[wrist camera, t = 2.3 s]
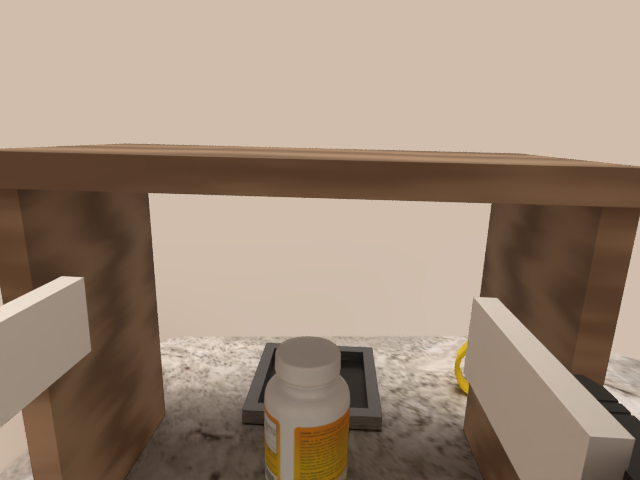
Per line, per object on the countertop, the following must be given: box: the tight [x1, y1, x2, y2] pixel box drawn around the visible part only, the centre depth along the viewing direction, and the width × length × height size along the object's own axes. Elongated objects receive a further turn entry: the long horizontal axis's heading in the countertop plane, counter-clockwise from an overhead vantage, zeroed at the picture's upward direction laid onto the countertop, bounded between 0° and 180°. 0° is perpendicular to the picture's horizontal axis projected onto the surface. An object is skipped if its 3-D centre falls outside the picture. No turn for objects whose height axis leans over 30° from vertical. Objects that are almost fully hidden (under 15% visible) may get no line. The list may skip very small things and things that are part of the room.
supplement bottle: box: [264, 337, 350, 480], centre depth 27 cm, size 5×5×10 cm
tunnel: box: [0, 144, 640, 480], centre depth 25 cm, size 13×27×22 cm, turn 87°
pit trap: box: [242, 343, 382, 430], centre depth 38 cm, size 11×11×1 cm
